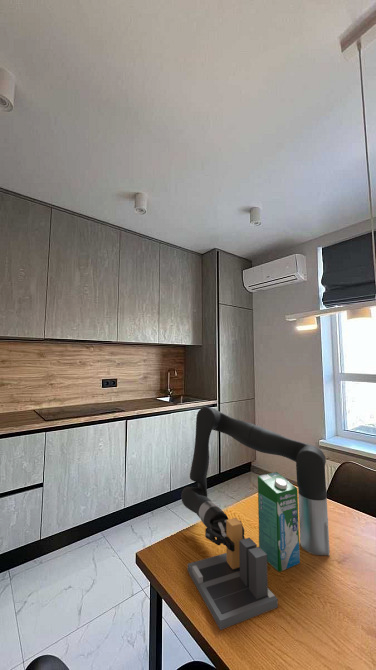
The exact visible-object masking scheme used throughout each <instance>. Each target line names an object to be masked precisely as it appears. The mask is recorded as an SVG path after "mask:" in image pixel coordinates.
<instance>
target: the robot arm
mask: <svg viewBox="0 0 376 670" xmlns="http://www.w3.org/2000/svg"><path fill="white" fill-rule="evenodd" d="M212 431H215V432H219V433H222V434H225V435H227V436H229V437H231V438H233V439H234V440H235V441H237V442H239V443H240V444H242V445H243V446H245V447H248V448H249V449H252V450H254V451H257V452H258V453H263V454H269V455H275V456H278V457H279V456H280V457H283V458H287V459H289V460H291V461H293V462H295V469H296V471H295V472H296V485H297V494H298V523H299V546H301V548H302V549H303V550H304V551H306V552H308V553H309V554H311V555H315V556H329V557H330V534H329V533H330V531H329V516H328V515H329V513H328V498H327V497H328V496H327V495H328V493H327V485H326V484H327V483H326V463H327V460H326V456H325V455H326V454H324V452H323V451H322V450H321V449H320V448H319V447H317V446H315V445H312V444H309V443H305V442H301V441H298V440H295V439H293V438H288V437H286V436H283V435H281V434H279V433H277V432H274V431H273V430H270V429H268V428H265V427H263V426H260V425H258V424H255V423H251V422H248V421H245V420H240V419H236V418H234V417H232V416H229V415H227V414H225V413H223V412H221V411H219V410H217V409H216V408H213V407H207V406H204V407H202V408H200V409H199V410H198V412H197V414H196V419H195V438H194V440H195V441H194V450H193V455H192V456H193V457H192V461H191V467H190V473H189V479H190V480H191V481H193V482H195V483H197V486H185V487H184V488H183V489H182V491H181V502H182V504H183V505H184V506H185V508H186V509H188V510H189V511H191V512H192V513H195V514H196V515H197V517H198V518H199V519H200V520H201V522H202V524H203V525H204V526H205V532H204V533H205V536H204V537H205V538H206V539H207V540H209V541H210V542H212V543H213V544H215V545H216V546H221V544H222V545H223V546H225V547H227V548H228V549H229V550H231V551H232V552H233V551H235V545H234V543H233V542H232V541H231V540H230V538H229V537H227V535H226V520H228V519H229V517H228V515H227V514H226V513H225V512H224V511H223V510H222V508H220V507H219V506H218V505H217V504H216V503H214V502H213V501H212V500H211V499H210V498H209V497H208V489H207V488H208V486H207V485H208V484H207V478H208V472H209V466H210V465H209V464H210V450H209V449H210V446H209V445H210V437H211V433H212ZM239 521H240V522H241V523H242V520H239ZM242 539H246V537H245V529H244V525H243V524H242ZM227 548H226V549H227Z"/></svg>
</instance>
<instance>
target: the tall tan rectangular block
mask: <svg viewBox="0 0 376 670" xmlns="http://www.w3.org/2000/svg"><path fill="white" fill-rule="evenodd" d="M240 521H241V520H239V519H238V518H237V517H233V518H228V520H226V535H227V537H229V538H230V540H231V541H232V542H233V543H234V545H235V551H233V552H232V551H231V550H229V549H228V548H227V547H226V546H225V547H226V553H227V563H228V564H229V565H230V567H231V568H232V569H235V568H239V567H240V551H239V540H242V525H243V523H242V521H241V522H240Z"/></svg>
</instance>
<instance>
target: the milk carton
mask: <svg viewBox="0 0 376 670" xmlns="http://www.w3.org/2000/svg"><path fill="white" fill-rule="evenodd" d="M257 499H258V500H257V503H258V505H257V506H258V515H257V516H258V547H260V548H261V549H262V550H263V551H264V552H265V553H266V554H267V564H269V565H270V566H272V567H273V568H274V570H276V571H278V573H280V572H283V571H285V570H287V569H289V568H292V567H295V566H296V565H299V564H300V563H301V561H300V559H301V556H300V524H299V495H298V487H296V486H295V485H294V484H293V483H292V482H290V481H289V480H288V479H287V478H286V477H284V476H283V475H281V474H280V473H279V471H276V472H272V473H271V472H270V473H266V474H261V475H258V476H257Z"/></svg>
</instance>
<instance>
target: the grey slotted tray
mask: <svg viewBox="0 0 376 670" xmlns="http://www.w3.org/2000/svg"><path fill="white" fill-rule="evenodd" d="M239 551H240V567H239V568H235V569H232V568H231V567H230V565H229V564H228V563H227V552H225V553H221V554H218V555H214V556H210V557H207V558H203V559H200V560H196V561H193V562H189V563H187V573H188V572H189V573H188V574H189V576H190V578H191V580H192V581H193V584H194V585H195V587H196V589H197V591H198V592H199V594H200V596H201V599H202V600H203V602H204V604H205V605H206V607H207V609H208V611H209V612H210V614H211V616H212V618H213V620H214V621H215V624H216V625H217V627H218V629H219V631H222V630H224V629H227V628H229V627H231V626H233V625H234V626H235V625H238V624H239V623H242V622H244V621H247V620H249V619H252V618H254V617H257V616H259V615H262V614H265V613H267V612H270V611H272V610H274V609H277V608H278V607H279V603H278V597H277V596H276V595H275V594H274V593H273V592H272V591H271V590H270V588H269V587H268V584H269V583H268V562H267V554H266V553H265V552H264V551H263V550H262V549H261V548H260V547H259V546H258V544H257V543H256V542H254V540H253V539H252V537H251V538H250V537H247V538H246V537H245V539H242V540H239Z"/></svg>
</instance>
